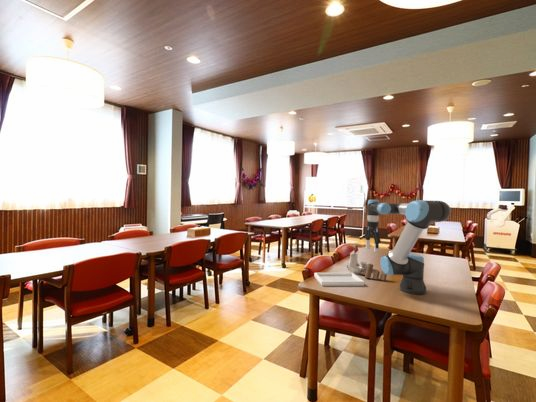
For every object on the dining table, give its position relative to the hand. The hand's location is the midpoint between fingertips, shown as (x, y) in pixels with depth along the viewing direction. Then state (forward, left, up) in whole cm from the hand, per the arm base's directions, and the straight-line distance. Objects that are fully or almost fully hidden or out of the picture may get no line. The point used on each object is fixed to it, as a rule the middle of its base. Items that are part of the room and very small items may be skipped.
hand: (371, 250), depth 195 cm
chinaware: (+22, +2, -21) cm, 30 cm away
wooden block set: (+1, -1, -21) cm, 21 cm away
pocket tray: (-5, +26, -20) cm, 33 cm away
